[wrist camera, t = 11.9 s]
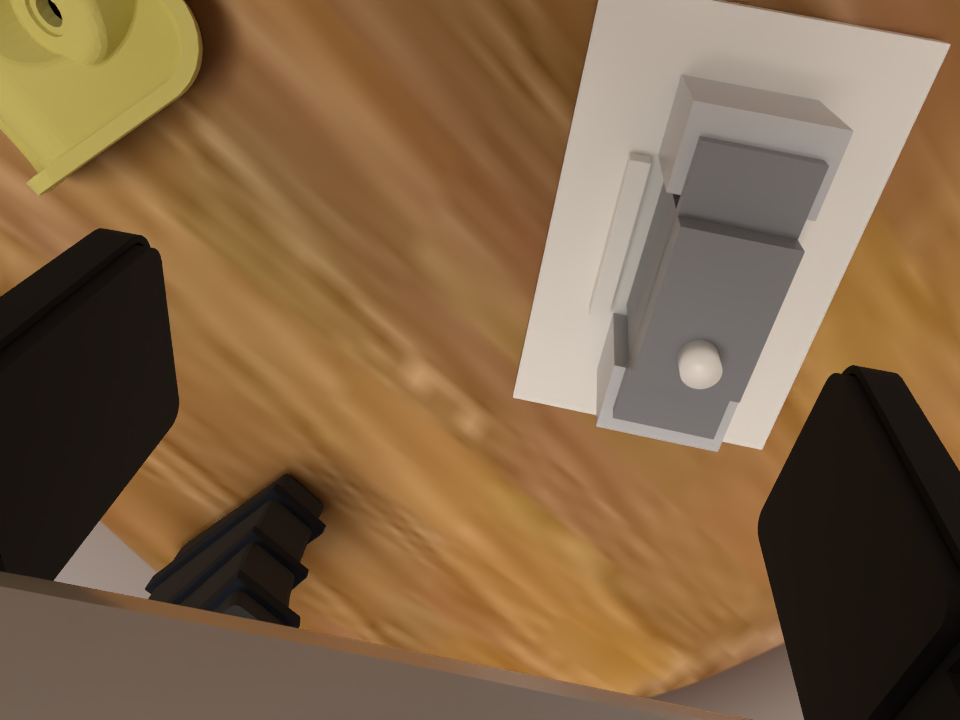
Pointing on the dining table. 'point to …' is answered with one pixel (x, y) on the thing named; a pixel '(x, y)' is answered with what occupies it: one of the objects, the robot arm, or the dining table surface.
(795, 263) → the servo
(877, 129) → the cradle
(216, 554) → the black ridged block
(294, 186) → the dining table surface
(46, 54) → the plastic component
